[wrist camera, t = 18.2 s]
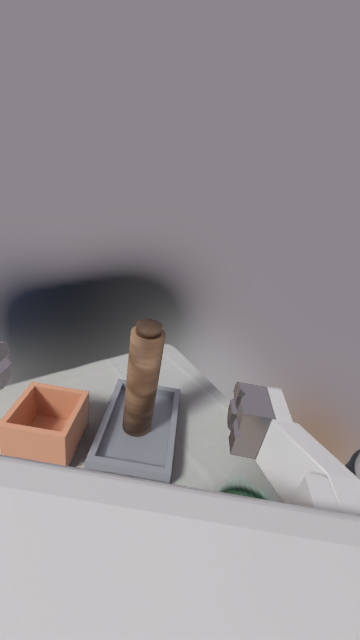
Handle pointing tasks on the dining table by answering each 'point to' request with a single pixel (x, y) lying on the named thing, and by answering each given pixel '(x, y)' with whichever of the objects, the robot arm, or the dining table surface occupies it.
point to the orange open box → (45, 424)
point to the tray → (136, 439)
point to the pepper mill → (142, 376)
